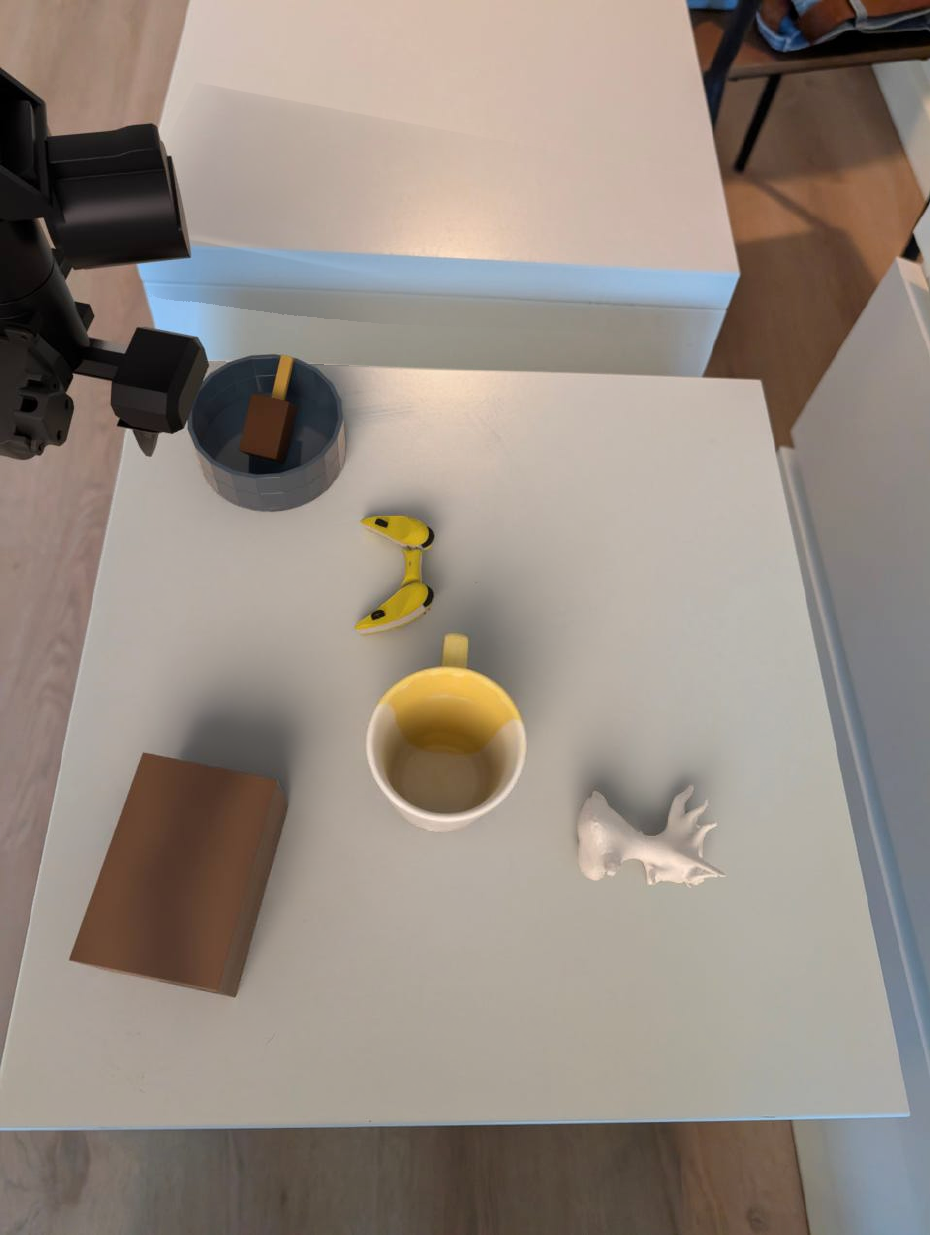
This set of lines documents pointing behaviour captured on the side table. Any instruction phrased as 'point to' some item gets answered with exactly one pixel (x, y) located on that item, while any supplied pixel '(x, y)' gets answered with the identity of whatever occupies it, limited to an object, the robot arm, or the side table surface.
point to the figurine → (644, 843)
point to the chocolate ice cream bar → (270, 419)
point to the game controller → (413, 592)
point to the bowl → (311, 443)
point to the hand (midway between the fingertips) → (87, 438)
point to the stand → (184, 876)
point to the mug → (446, 743)
